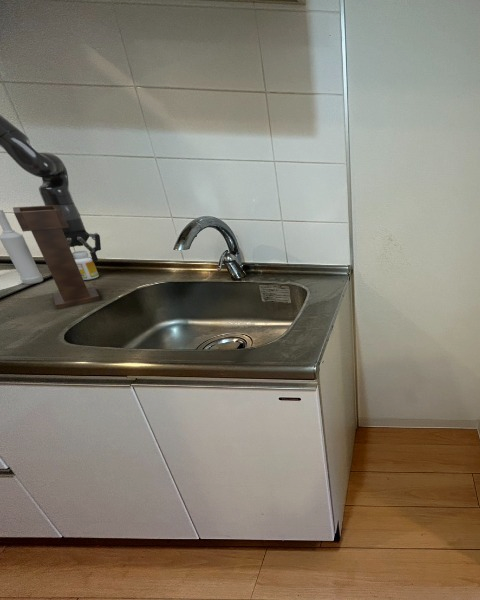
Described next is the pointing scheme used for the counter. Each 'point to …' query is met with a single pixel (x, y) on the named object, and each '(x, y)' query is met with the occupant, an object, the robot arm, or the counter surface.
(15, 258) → the bottle
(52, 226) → the holder
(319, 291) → the counter surface
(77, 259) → the supplement bottle
